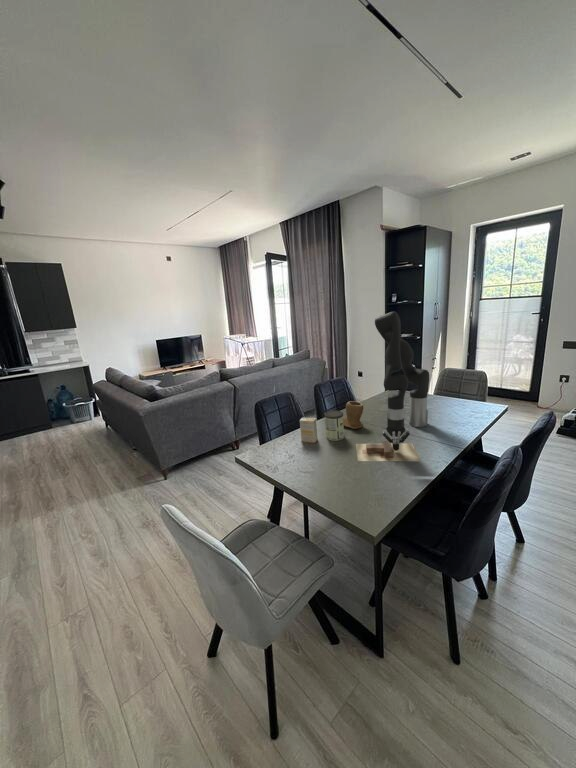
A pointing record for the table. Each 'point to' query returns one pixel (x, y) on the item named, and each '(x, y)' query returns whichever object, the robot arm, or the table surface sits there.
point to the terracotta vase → (353, 415)
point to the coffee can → (334, 425)
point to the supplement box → (308, 430)
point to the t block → (381, 449)
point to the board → (403, 454)
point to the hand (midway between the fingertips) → (395, 449)
